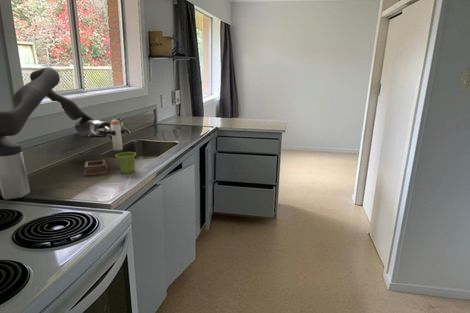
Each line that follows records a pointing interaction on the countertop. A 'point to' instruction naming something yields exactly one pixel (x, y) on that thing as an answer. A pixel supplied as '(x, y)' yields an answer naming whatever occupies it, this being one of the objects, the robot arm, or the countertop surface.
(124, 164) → the plant pot
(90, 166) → the box
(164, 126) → the countertop surface
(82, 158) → the countertop surface
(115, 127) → the capped white tube
